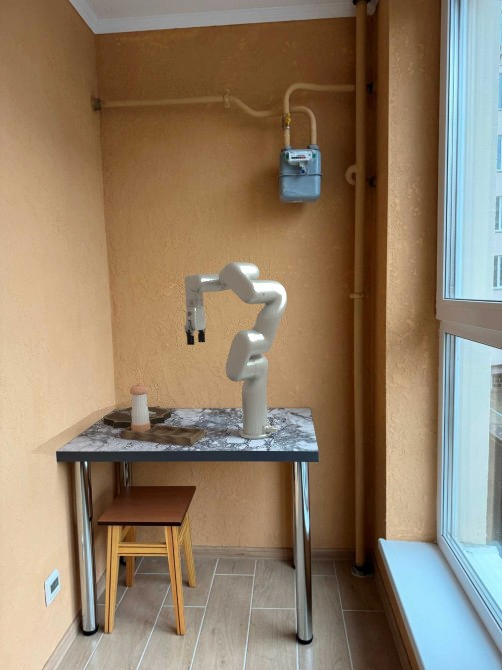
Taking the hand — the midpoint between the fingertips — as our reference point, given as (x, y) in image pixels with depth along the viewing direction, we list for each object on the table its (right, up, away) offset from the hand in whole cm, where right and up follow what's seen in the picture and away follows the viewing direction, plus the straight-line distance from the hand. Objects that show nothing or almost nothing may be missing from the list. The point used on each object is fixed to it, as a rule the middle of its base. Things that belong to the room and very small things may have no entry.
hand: (196, 343), depth 201 cm
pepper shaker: (-20, -34, -19) cm, 44 cm away
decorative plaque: (-26, -35, +5) cm, 44 cm away
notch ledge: (-10, -36, -22) cm, 44 cm away
